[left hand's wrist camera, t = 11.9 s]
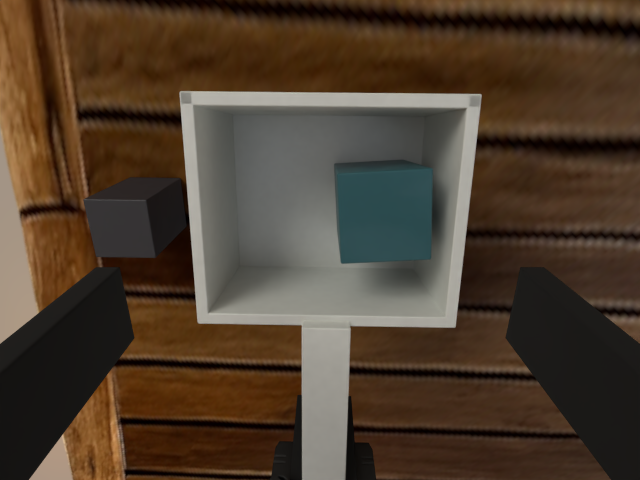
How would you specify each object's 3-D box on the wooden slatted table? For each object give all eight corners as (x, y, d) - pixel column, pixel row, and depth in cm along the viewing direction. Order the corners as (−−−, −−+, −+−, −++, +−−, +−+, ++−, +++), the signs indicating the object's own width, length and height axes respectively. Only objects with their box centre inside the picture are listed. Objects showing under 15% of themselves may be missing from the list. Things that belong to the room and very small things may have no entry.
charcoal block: (180, 177, 34) (146, 200, 27) (186, 226, 35) (155, 257, 29) (129, 177, 34) (82, 199, 27) (138, 225, 35) (95, 257, 29)
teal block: (404, 159, 25) (433, 168, 18) (404, 227, 26) (431, 259, 19) (333, 163, 25) (336, 173, 18) (336, 231, 26) (340, 264, 19)
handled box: (432, 107, 24) (490, 91, 16) (406, 424, 31) (437, 535, 22) (225, 105, 25) (171, 88, 16) (241, 421, 31) (208, 529, 22)
